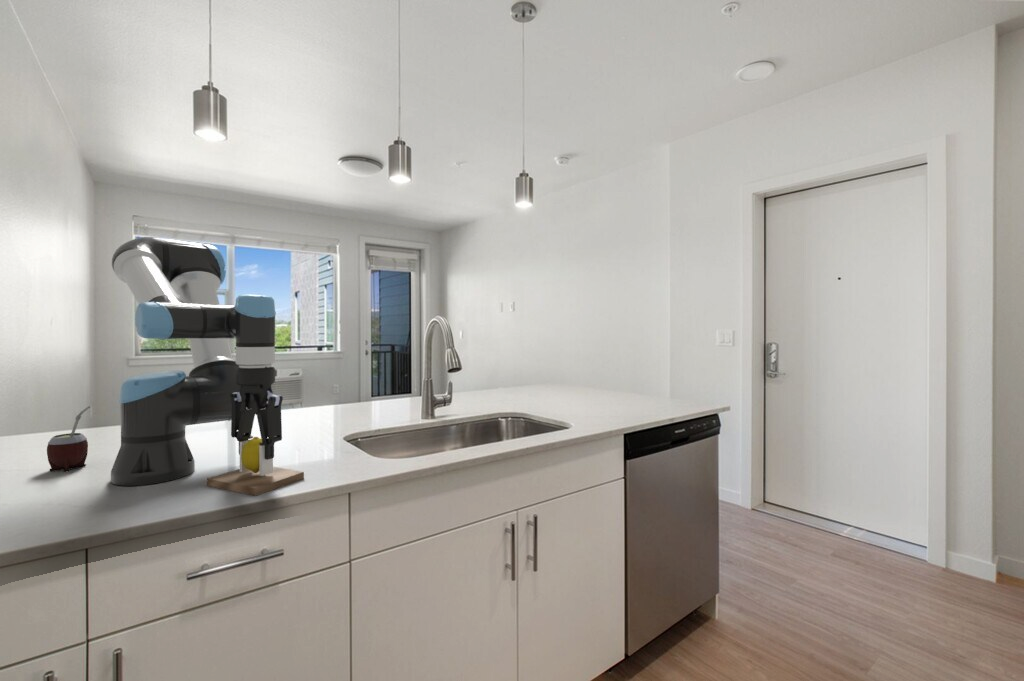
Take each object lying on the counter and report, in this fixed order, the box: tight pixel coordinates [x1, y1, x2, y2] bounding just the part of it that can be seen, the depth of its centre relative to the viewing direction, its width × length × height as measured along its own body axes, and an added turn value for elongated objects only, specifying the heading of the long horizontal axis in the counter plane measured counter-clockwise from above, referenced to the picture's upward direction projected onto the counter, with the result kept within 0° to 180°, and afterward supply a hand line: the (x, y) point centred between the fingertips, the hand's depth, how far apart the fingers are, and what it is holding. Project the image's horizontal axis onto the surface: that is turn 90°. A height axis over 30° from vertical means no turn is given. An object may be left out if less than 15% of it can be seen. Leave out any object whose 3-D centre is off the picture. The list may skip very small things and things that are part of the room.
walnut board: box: [206, 466, 305, 496], centre depth 102 cm, size 15×12×2 cm
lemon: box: [241, 436, 262, 473], centre depth 102 cm, size 6×6×8 cm
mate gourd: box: [46, 406, 91, 473], centre depth 111 cm, size 8×8×15 cm
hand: (256, 471), depth 102 cm, fingers closed on lemon, 5 cm apart
